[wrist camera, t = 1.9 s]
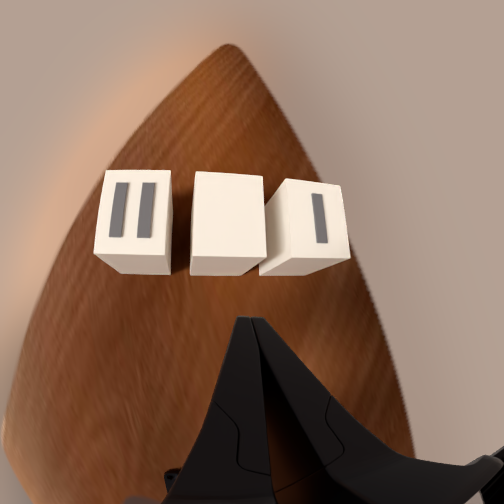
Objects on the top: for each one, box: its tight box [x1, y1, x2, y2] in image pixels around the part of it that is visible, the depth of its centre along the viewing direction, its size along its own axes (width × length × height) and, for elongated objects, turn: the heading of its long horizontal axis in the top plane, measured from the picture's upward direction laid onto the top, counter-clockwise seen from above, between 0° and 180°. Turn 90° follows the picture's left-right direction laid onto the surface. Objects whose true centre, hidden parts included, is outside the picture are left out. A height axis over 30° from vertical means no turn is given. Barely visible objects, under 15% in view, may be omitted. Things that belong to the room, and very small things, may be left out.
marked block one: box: [259, 179, 350, 276], centre depth 20 cm, size 5×4×7 cm
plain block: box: [190, 172, 267, 276], centre depth 18 cm, size 5×4×7 cm
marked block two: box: [94, 170, 173, 275], centre depth 17 cm, size 5×4×7 cm
